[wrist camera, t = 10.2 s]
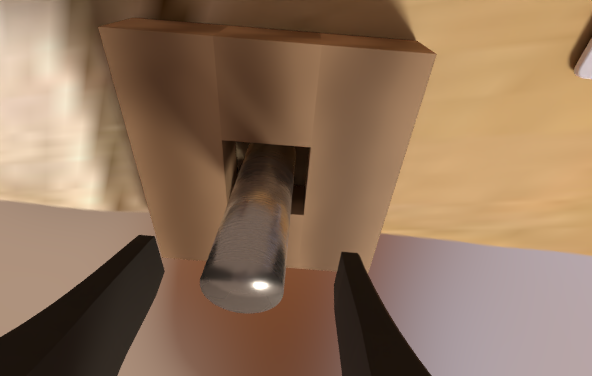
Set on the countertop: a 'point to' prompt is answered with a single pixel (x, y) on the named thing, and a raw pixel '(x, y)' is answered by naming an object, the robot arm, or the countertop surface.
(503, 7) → the countertop surface
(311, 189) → the socket block
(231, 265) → the steel pin
